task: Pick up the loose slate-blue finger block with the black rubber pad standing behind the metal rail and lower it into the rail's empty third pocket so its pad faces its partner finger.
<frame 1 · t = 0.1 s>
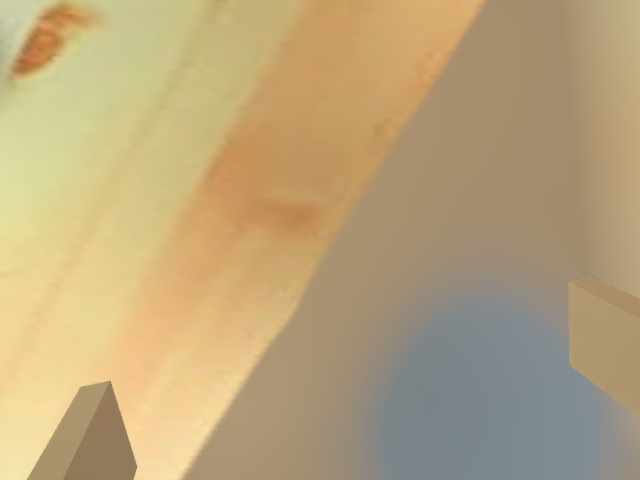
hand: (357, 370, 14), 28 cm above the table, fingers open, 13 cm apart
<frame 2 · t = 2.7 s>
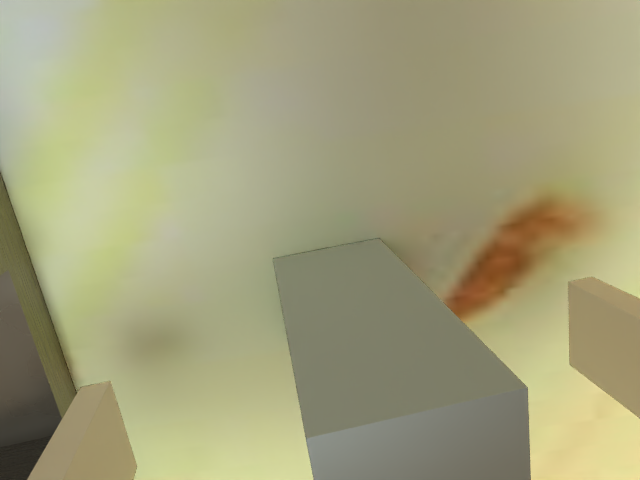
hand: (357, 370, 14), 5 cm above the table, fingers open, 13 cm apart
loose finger: (333, 291, 18), on the table
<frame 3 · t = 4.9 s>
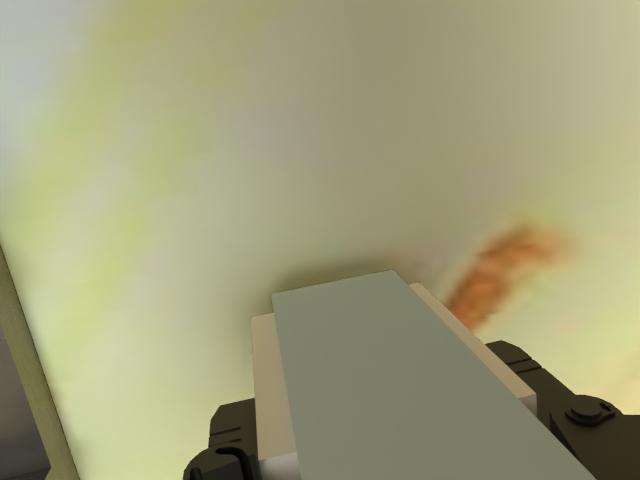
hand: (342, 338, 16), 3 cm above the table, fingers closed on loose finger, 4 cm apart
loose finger: (340, 330, 16), point 3 cm above the table, touching gripper
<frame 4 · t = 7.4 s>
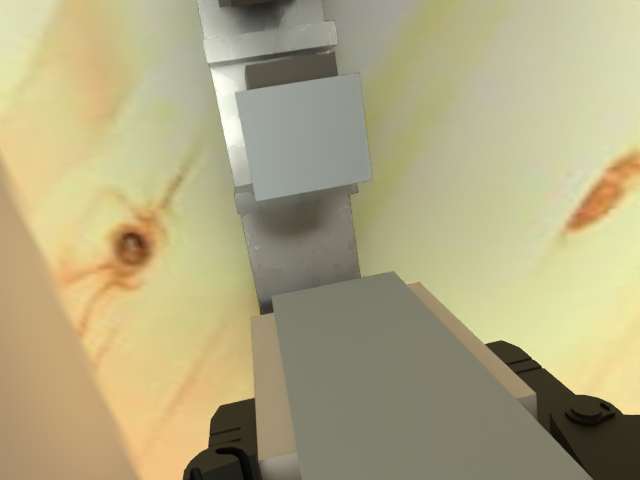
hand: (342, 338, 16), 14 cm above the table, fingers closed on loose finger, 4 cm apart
fitted fingers: (303, 202, 22), point 6 cm above the table
rail: (289, 181, 28), on the table
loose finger: (340, 332, 16), point 13 cm above the table, touching gripper
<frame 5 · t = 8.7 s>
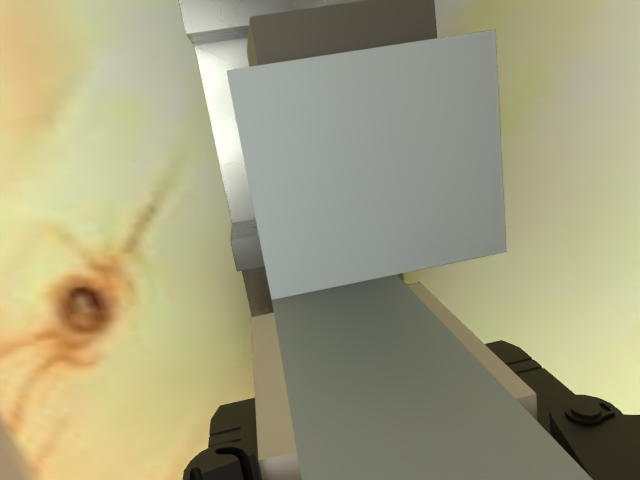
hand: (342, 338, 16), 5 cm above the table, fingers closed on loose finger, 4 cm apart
fitted fingers: (343, 261, 13), point 6 cm above the table
rail: (310, 212, 19), on the table
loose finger: (340, 333, 16), point 4 cm above the table, touching gripper
when the fingers open (3 cm above the table, at t = 9.7 s): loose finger drops 1 cm, resting on rail.
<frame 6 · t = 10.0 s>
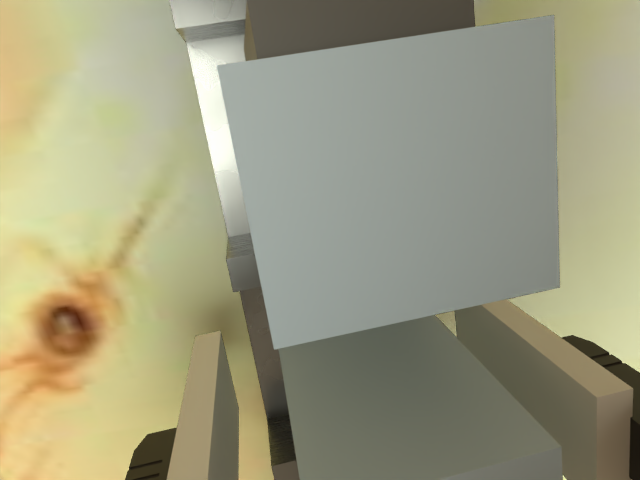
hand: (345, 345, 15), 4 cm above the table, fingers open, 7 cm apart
fitted fingers: (352, 284, 12), point 6 cm above the table
rail: (313, 224, 18), on the table
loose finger: (333, 316, 17), point 1 cm above the table, touching rail
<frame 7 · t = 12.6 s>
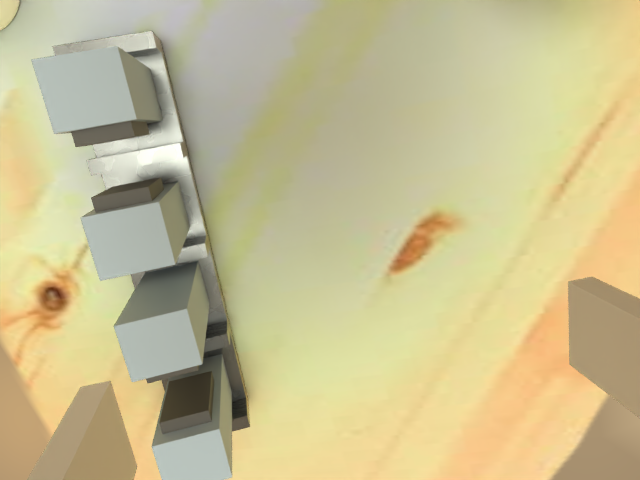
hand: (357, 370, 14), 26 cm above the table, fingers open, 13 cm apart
fitted fingers: (157, 269, 31), point 6 cm above the table
rail: (169, 245, 38), on the table
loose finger: (177, 288, 37), point 1 cm above the table, touching rail
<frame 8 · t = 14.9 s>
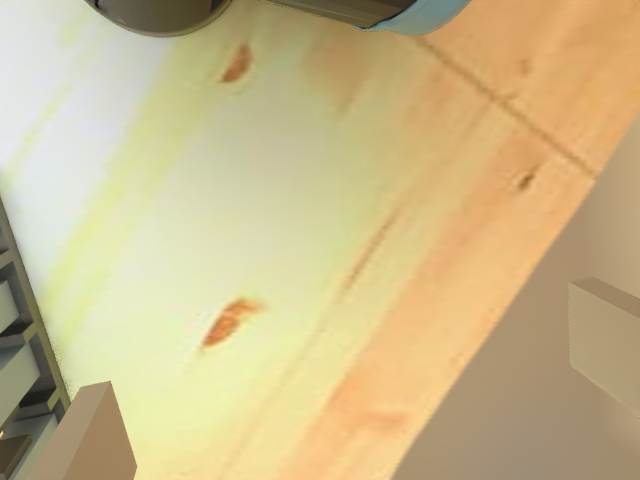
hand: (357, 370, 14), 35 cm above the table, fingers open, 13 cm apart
rail: (9, 326, 46), on the table
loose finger: (12, 362, 46), point 1 cm above the table, touching rail
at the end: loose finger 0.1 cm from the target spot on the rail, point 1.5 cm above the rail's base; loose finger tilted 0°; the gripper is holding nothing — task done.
